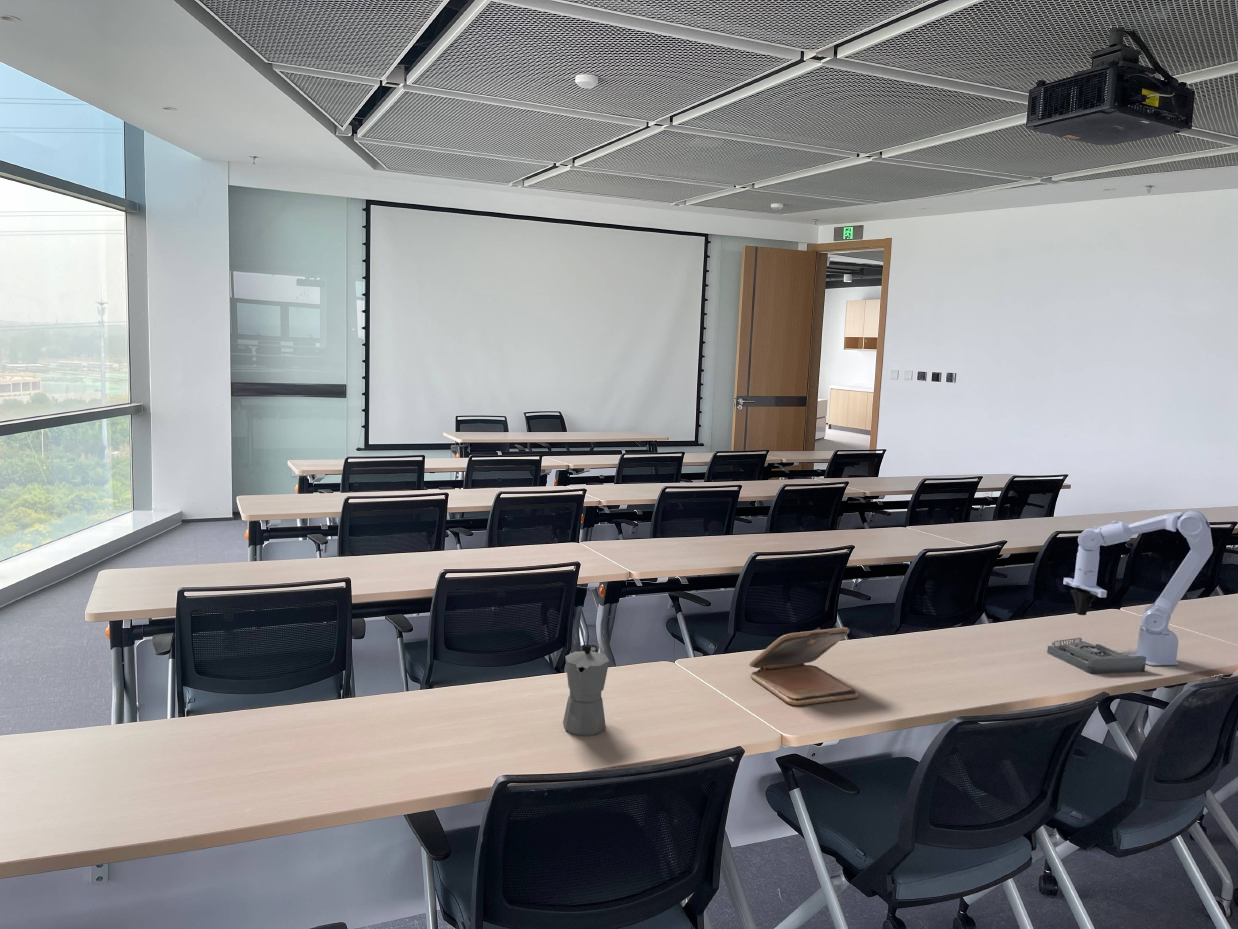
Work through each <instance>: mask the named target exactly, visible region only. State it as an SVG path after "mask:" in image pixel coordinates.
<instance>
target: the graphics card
mask: <svg viewBox="0 0 1238 929" xmlns="http://www.w3.org/2000/svg"><path fill="white" fill-rule="evenodd" d="M1056 643H1059V644H1056ZM1051 646H1053V647H1055V648H1057V649H1059V650H1061V651H1063V652H1066V653H1068V654H1070V655H1072V656H1074V657H1076V658H1078V659H1080V660H1083V661H1085V662H1088V660H1089V658H1099V657H1124V656H1121V655H1119V654H1116V653H1113V652H1111V651H1108V650H1106V649H1103V648H1101V647H1098V646H1096V644H1092V643H1091V642H1087V641H1085V640H1083V638H1082V637H1080V636H1079V637H1073V638H1067V639H1066V638H1065V639H1059V640H1054V641H1053V642H1051ZM1105 654H1106V655H1105Z"/></svg>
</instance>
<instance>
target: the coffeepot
mask: <svg viewBox="0 0 1238 929" xmlns="http://www.w3.org/2000/svg"><path fill="white" fill-rule="evenodd" d="M583 648H584V650H583V651H574V652H571V653H569V654H567V655H565V657H564V658H565V668H566V675H567V685H568V686H567V687H568V689H569V695H568V698H567V702H566V707H565V710H564V715H563V720H562V723H563V724H562V725H563V728H564V730H565V731H566V732H568V733H569V734H572V735H576V736H586V737H587V736H594V735H598V734H601V733H602V732H603V731H604V730H605V729H606V727H607V726H606V725H607V724H606V719H605V710H604V709H605V708H604V702H603V698H602V691H604V689H605V685H606V680H607V679H606V678H607V676H608V669H609V665H610V664H609V663H610V659H609V658H608V656H607V655H606V654H604V653H600V652H598V650H599V649H598V647H597V645H596V644H584V645H583Z"/></svg>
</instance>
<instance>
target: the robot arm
mask: <svg viewBox="0 0 1238 929" xmlns="http://www.w3.org/2000/svg"><path fill="white" fill-rule="evenodd" d="M1159 530H1167V531H1171V532H1177V530H1178V531H1179V533H1181V535H1182V536H1183V538H1186V541H1187V543H1188V545H1189V548H1190V550H1188V551H1189V552H1188V553H1187V555H1186V556H1185V558H1184V559H1183V560H1182V562H1181V564H1179V566H1178V568H1177V569H1176V571H1175V572H1174V574H1173V575H1172V577H1171V578H1170V580H1169V581H1168V582H1167V584H1166V586H1165V587H1164V589H1163V590H1162V592H1161V593H1160V595H1159V596H1158V597H1157V598H1156V600H1155V602H1153V603H1152V604H1150V605H1148V606H1147V607H1146V608H1145V610H1144V614H1143V615H1142V617H1141V623H1142V624H1141V625H1139V632H1138V639H1137V648H1136V653H1129V654H1128V656H1144V657H1146V665H1149V666H1150V667H1151V666H1155V667H1156V666H1177V665H1179V662H1177V659H1178V658H1177V657H1178V649H1179V638H1178V635H1177V634H1176V633H1175V632H1174V631H1172V630H1170V629H1169V624H1170V623H1169V622H1170V620H1171V616H1172V614H1173V612H1174V611H1175V609H1176V607H1177V605H1178V604H1179V602H1180V601H1181V600H1182V598H1183V597H1184V595H1185V593H1186V592H1187V591H1188V589H1189V588H1190V587H1191V585H1192V583H1193V581H1195V578H1196V577H1197V576H1198V574H1199V573H1200V572H1201V571H1202V568H1203V567H1204V565H1205V564H1206V563H1207V561H1208V560H1209V558H1210V557H1211V555H1212V554H1213V551H1214V546H1213V539H1212V538H1213V537H1212V532H1211V524H1210V522H1209V521H1208V519H1207V517H1206V516H1205V515H1204V513H1202V512H1201V511H1198V510H1194V509H1190V510H1186V511H1184V512H1183V511H1177V512H1170V513H1165V514H1162V515H1159V516H1158V515H1157V516H1155V517H1154V516H1153V517H1151V518H1147V519H1143V520H1140V521H1137V522H1132V523H1127V522H1124V521H1118V520H1113V521H1111V523H1109V524H1105V525H1101V526H1098V525H1095V526H1093V528H1086V529H1085V530H1082V532H1081V533H1080V534H1079V535H1078V538H1077V543H1078V547H1077V553H1076V560H1075V570H1074V578H1071V577H1063V581H1062V582H1063V585H1066V586H1070V587H1072V588H1073V589H1070V594H1071V597H1072V599H1073V600H1074V604H1075V611H1076V612H1075V613H1076V614H1077V615H1079V616H1086V615H1087V613H1088V611H1089V608H1090V606H1091V604H1092V603H1093V601H1094V600H1095V599H1096V598H1097V597H1098V598H1107V594H1108V591H1107V590H1105V589H1103V588H1102V587H1100V586H1098V585H1097V579H1098V571H1099V566H1100V564H1099V563H1100V549H1101V548H1100V547H1101V546H1104V547H1107V546H1111V545H1115V544H1119V543H1124V542H1128V541H1130V540H1131V538H1132V537H1133V535H1138V534H1143V533H1150V532H1154V531H1159Z"/></svg>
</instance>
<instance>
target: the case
mask: <svg viewBox="0 0 1238 929" xmlns="http://www.w3.org/2000/svg"><path fill="white" fill-rule="evenodd" d="M849 633H850V629H849V628H848V627H845V626H843V627H835V628H827V629H817V630H810V631H809V630H808V631H800V632H791V633H787V634H783V635H782V636H779V637H778V638H777V639H776V640H774V641H773V642H772V643H771V644H770V645H768V646H767V647H766V648H765V649H764V650H763V651H762V652H760V653H759V654H758V655H757V656H756V657H755V658H754V659H752V660H751V661H750V662H749V664H748V665H749V667H750V668H755V669H758V670H757V671H752V672H751V673H750V674H749V675H750V678H751V679H752V680H754V681H755V682H756V683H758V684H759V685H760V686H762V687H763V688H765V689H766V690H768V691H769V692H770V693H772V694H774V696H777V698H779V699H780V700H782V702H784V703H786V704H788V705H791V706H807V705H814V704H823V703H829V702H830V703H831V702H839V701H848V700H854V699H857V698H858V697H859V693H858V692H857V691H856V690H855V689H854V688H853V687H851V686H849V685H848V684H846V683H844V682H843V681H841V680H840V679H838V678H837V677H835V676H834V675H832V674H831V673H828V672H827V671H826V670H823V669H822V668H820V667H818V666H816V665H812V664H809V663H812V662H813V663H814V661H816V660H818V659H819V658H820V657H822V656H824V654H826V653H827V652H828V651H830V649H832V648H833V647H834V646H836V644H838V643H839V642H841V640H843V639H844V638H845V637H846V636H848V634H849Z"/></svg>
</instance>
